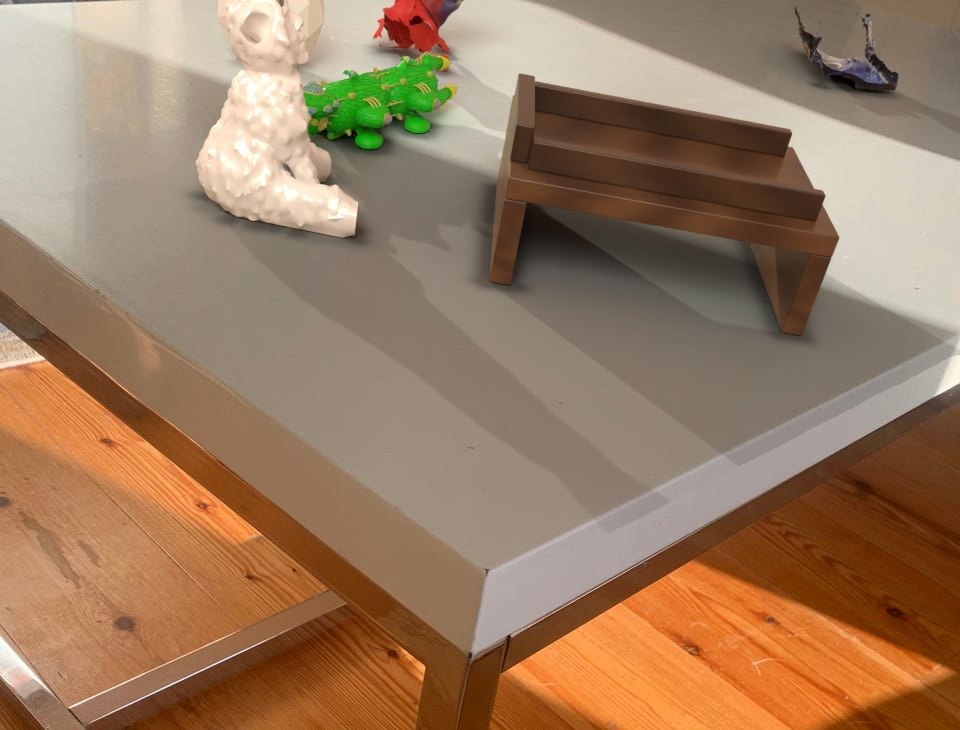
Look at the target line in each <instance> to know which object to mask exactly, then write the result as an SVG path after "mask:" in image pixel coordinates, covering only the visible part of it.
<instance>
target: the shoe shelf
mask: <svg viewBox="0 0 960 730" xmlns="http://www.w3.org/2000/svg"><path fill="white" fill-rule="evenodd" d="M507 121H508V122H507V126H506V132H505V138H504V142H503V148H502V153H501V160H500V164H499V169H498V176H497V181H496V188H495V200H494V212H493V226H492V239H491V253H490V267H489V279H488V281H489V282H490V283H495V284H502V285H505V286H506V285H507V286H511V284H512V279H513V275H514V269H515V264H516V261H517V254H518V250H519V244H520V239H521V234H522V229H523V224H524V221H525V220H524V219H525V215H526V211H527V205H528V204H534V205H539V206H544V207H550V208H555V209H560V210H566V211H571V212H577V213H584V214H588V215H593V216H599V217H605V218H610V219H616V220H622V221H627V222H633V223H639V224H644V225H649V226H655V227H661V228H665V229H671V230H679V231H684V232H688V233H694V234H698V235H699V234H700V235H706V236H710V237H715V238H721V239H727V240H733V241H738V242H744V243H748V244H749V245H750V249H751V251H752V254H753V258H754V259H755V262H756V266H757V269H758V270H759V273H760V276H761V279H762V282H763V284H764V287H765V290H766V293H767V295H768V298H769V301H770V304H771V306H772V309H773V313H774V315H775V318H776V320H777V323H778V327H779V329H780V331H781V333H783V334H788V335H795V336H799V337H800V336H802V335H803V333H804V330H805V328H806V325H807V322H808V320H809V318H810V315H811V312H812V310H813V307H814V304H815V302H816V299H817V296H818V294H819V291H820V289H821V286H822V284H823V281H824V279H825V276H826V274H827V271H828V269H829V266H830V263H831V261H832V258H833V256H834V253H835V250H836V248H837V247H838V243H839V240H840V235H839V233H838V231H837V230H836V229H837V228H836V227H835V225H834V224H833V222H832V220H831V218H830V216H829V213H828V212H827V210H826V208H825V206H824V202H825V199H826V194H825V192H824V190H823V189H818V188H815V187H814V185H813V184H812V181H811V179H810V177H809V175H808V174H807V172H806V170H805V168H804V166H803V164H802V162H801V160H800V159H799V156H798V154H797V152H796V150H795V149H794V147H793V146H789V145H790V142H791V139H792V136H793V132H792V130H791V129H790V128H787V127H781V126H776V125H770V124H766V123H759V122H754V121H749V120H744V119H738V118H735V117H734V118H733V117H726V116H722V115H719V114H718V115H717V114H712V113H706V112H701V111H695V110H689V109H686V108H680V107H674V106H669V105H664V104H659V103H653V102H649V101H642V100H638V99H632V98H627V97H621V96H616V95H611V94H606V93H600V92H595V91H589V90H585V89H579V88H573V87H568V86H565V85H557V84H554V83H553V84H552V83H548V82H541V81H536V76H535V75H530V74H526V73H518V75H517V80H516V85H515V91H514V95H512V99H511V103H510V110H509V116H508V120H507Z"/></svg>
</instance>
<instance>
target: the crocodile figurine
mask: <svg viewBox="0 0 960 730" xmlns="http://www.w3.org/2000/svg"><path fill="white" fill-rule="evenodd" d="M451 64H452V62H451V60H450V59H449V60H448V59H447V58H445V57H443V56H439V55H437V54H433V53H432V52H431V51H430V52H428V51H427V52H423V54H421V55H420V56H419V57H417V58H416V59H412V58H411V57H410V56H408V55H406V56H405V55H403V56H402V57H400V63H399V64H398V65H395V66H391V67H388V68H383V69H378V68H377V67H373V68H372V70H373V71H369V72H363V73H361V74H359V73H358V71H355V70H354V69H348V70H346V69H345V70H344V71H343V72H342V74H343V75H345V76H347V75H348V78H343V79H340V80H336V81H332V82H328V83H327V82H326V81H325V80H320V82H319V83H318V82H317V81H309V82H308V81H307V82H306V83H305V84H304V85H303V86H302V87H303V92H304V98H305V103H306V107H308V113H309V114H310V115H311V122H310V123H309V125H308V136H309V138H310V139H311V138H312V137H313V136H314V135H316V134H318V133H321V132H323V131H327V135H326V137H327V139H328V140H330V141H332V140H337V139H339V138H341V137H342V136H344V135H345V134H346V135H347V136H348V137H352V131H355V133H356V136H355V138H354V143H355V145H356V146H357V147H359V148H361V149H364V150H376V149H379V148H380V147H382V145H383V143H384V136H382V135H381V134H379V133H377V132H376V131H375V130H374V129H380V128H383V127H384V126H385V127H386V126H389V125H390V124H391V123H392V121H393V118H396V119H397V120H398V121H402V119H403V116H404V118H405V121H404V124H403V126H404V129H405V130H406V131H408V132H410V133H413V134H425V133H427V132H429V130H430V129H431V121H430V120H429V119H427V118H425V117H424V116H423V115H421V114H420V113H425V114H426V113H427V114H428V113H431V112H433V111H436V110H442V109H443V110H444V108H445V107H446V105H447V103H448V102H449V101H450V100H452V99H454V96H456V94H457V93H458V86H456V85H455V84H447V85H446V84H445V85H443V86H442V88H441V89H438V86H439V84H438V82H439V79H438V78H437V76H436V74H435V72H434V71H438V72H442V71H444V69H446V68H448V69H449V67H450V66H451ZM310 143H313V142H312V140H311V141H310Z"/></svg>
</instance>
